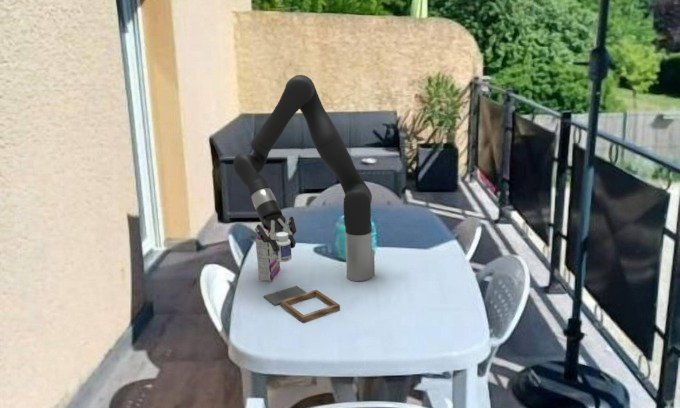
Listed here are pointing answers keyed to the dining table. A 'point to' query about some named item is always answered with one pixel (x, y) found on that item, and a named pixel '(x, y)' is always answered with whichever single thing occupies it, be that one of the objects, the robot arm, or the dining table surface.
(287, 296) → the charcoal mat
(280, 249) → the pill bottle
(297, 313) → the walnut frame
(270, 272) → the candy bar box
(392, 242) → the dining table surface
